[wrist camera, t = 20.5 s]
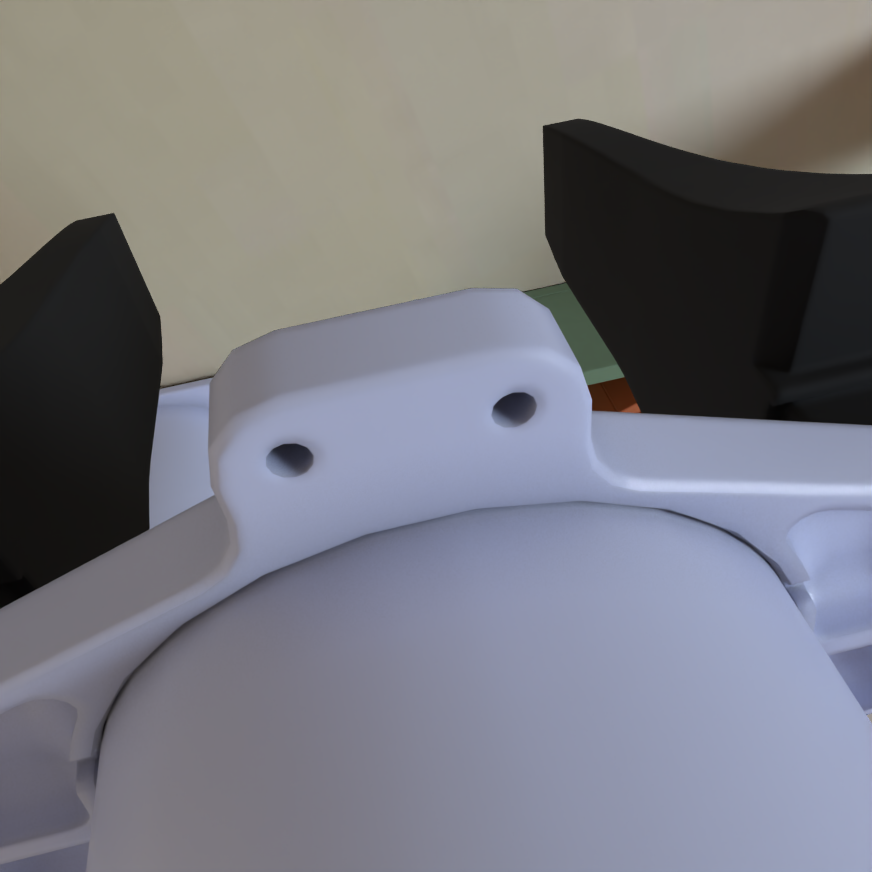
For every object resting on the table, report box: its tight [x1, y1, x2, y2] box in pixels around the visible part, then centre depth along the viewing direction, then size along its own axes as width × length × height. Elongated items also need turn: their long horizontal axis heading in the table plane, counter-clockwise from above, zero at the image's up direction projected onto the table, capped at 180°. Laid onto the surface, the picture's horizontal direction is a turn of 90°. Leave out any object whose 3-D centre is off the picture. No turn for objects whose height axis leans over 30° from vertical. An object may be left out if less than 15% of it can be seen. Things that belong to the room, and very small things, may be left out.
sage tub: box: [523, 283, 624, 385], centre depth 32 cm, size 13×17×5 cm
